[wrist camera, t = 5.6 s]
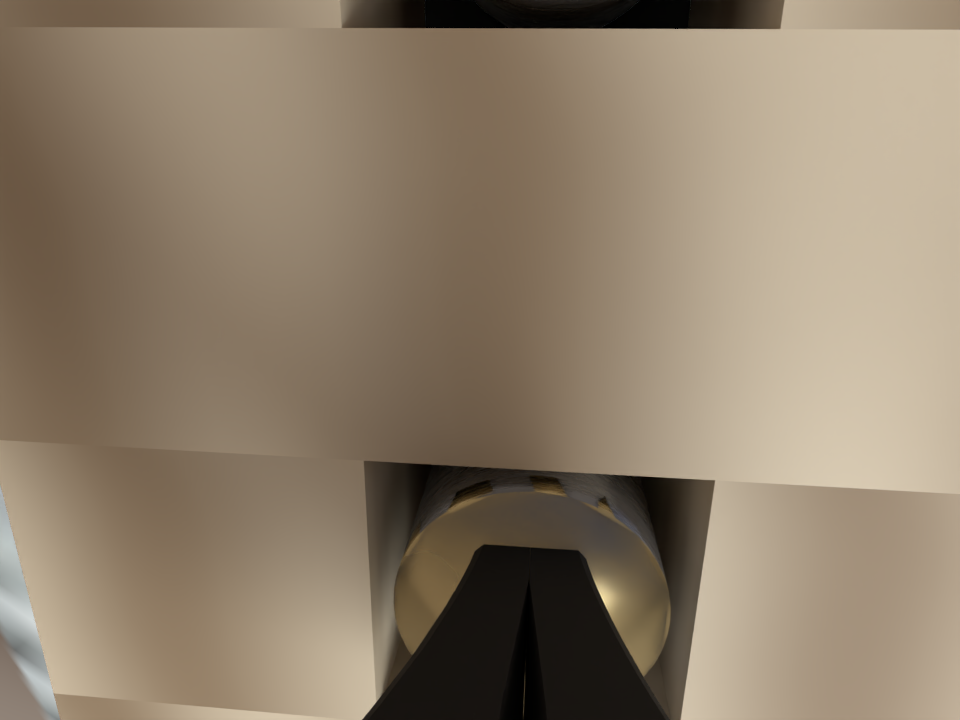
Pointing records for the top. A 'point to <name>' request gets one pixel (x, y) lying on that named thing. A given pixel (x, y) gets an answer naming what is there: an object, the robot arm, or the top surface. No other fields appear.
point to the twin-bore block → (479, 335)
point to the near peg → (555, 12)
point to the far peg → (537, 544)
